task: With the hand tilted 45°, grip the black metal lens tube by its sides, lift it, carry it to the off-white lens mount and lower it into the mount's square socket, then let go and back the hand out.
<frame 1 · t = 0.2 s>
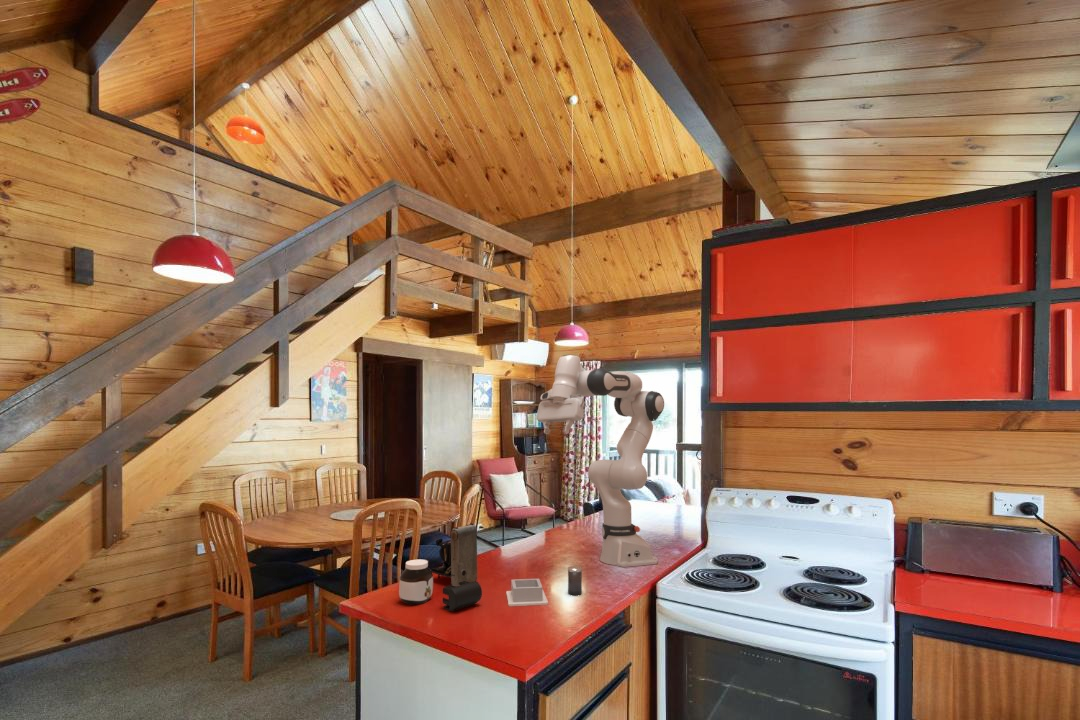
hand: (556, 433, 190), 51 cm above the counter, fingers open, 8 cm apart
lens tube: (574, 593, 174), on the counter
end cap: (461, 608, 162), on the counter
spread jar: (414, 599, 169), on the counter
vintage camera: (451, 583, 185), on the counter
lens mount: (526, 598, 169), on the counter
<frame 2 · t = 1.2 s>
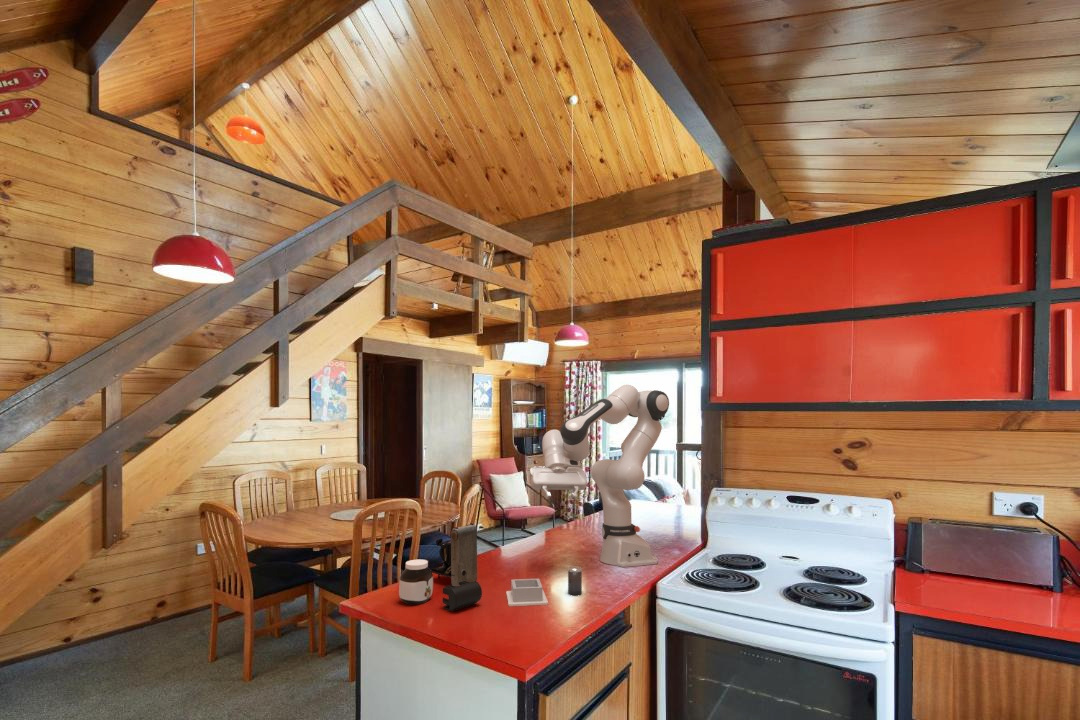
hand: (561, 498, 191), 28 cm above the counter, fingers open, 8 cm apart
nothing on the counter moved.
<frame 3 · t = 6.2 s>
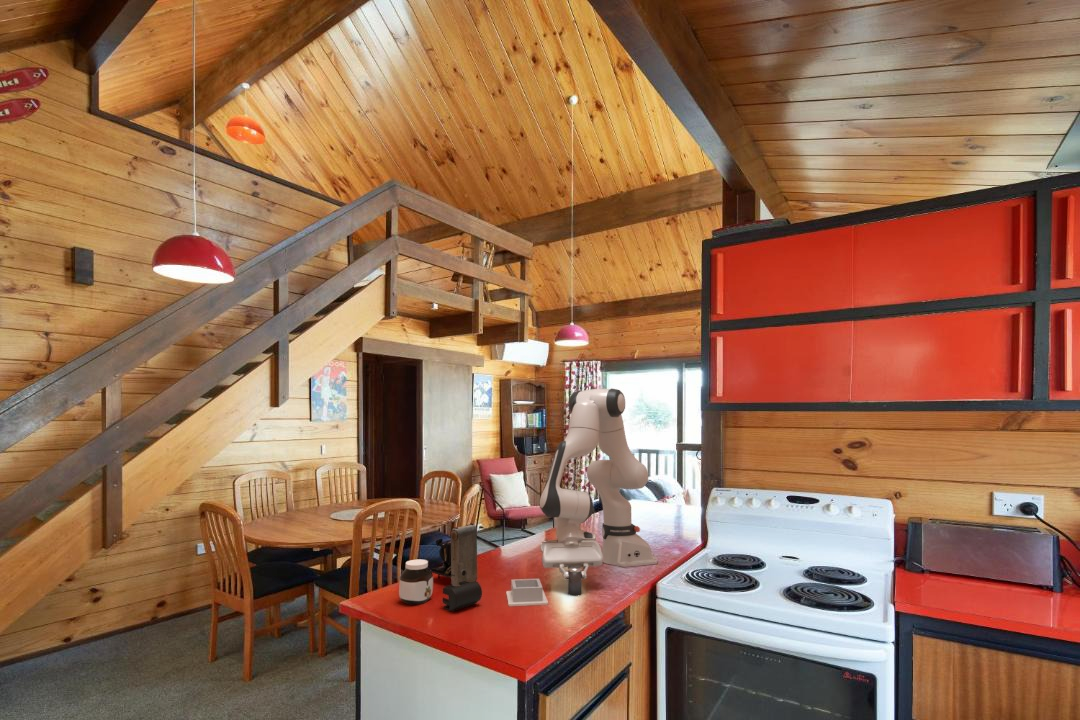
hand: (575, 578, 174), 5 cm above the counter, fingers closed on lens tube, 4 cm apart
lens tube: (574, 593, 174), on the counter, touching gripper
everything else where it was.
when the fingers open (7 cm above the counter, at t = 12.2 s): lens tube drops 1 cm, resting on lens mount.
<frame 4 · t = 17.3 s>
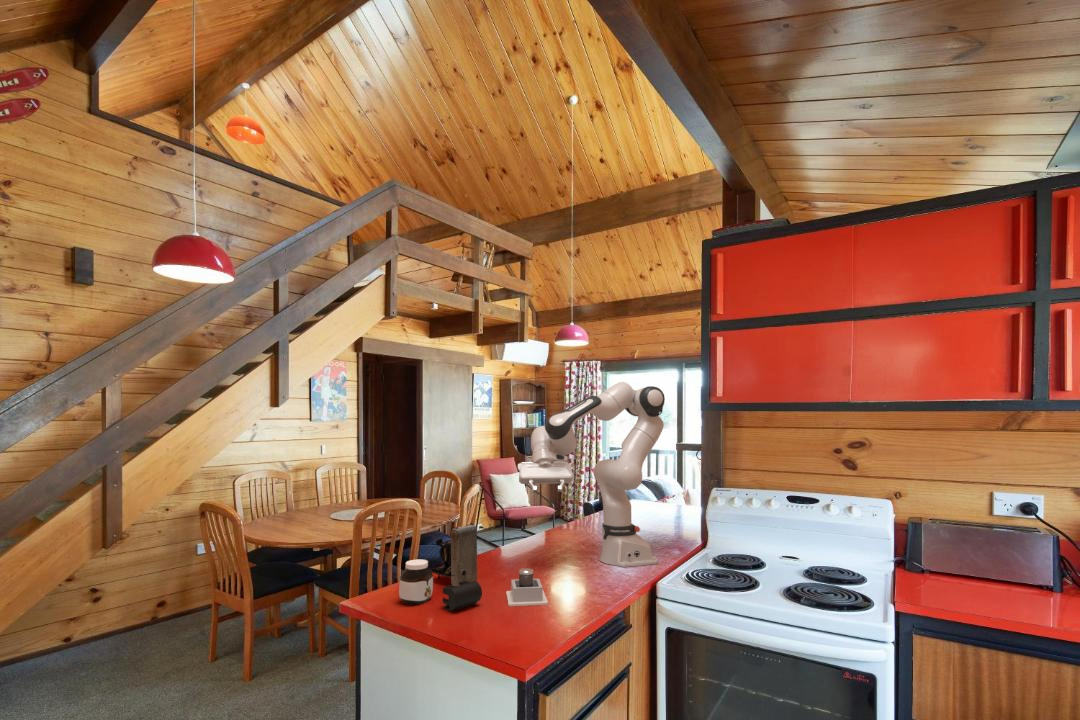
hand: (547, 491, 197), 29 cm above the counter, fingers open, 8 cm apart
lens tube: (526, 596, 169), point 1 cm above the counter, touching lens mount
everything else where it was.
at the end: lens tube 0.2 cm off-centre on the lens mount, point 0.6 cm above the lens mount's base; lens tube tilted 0°; the gripper is holding nothing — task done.
